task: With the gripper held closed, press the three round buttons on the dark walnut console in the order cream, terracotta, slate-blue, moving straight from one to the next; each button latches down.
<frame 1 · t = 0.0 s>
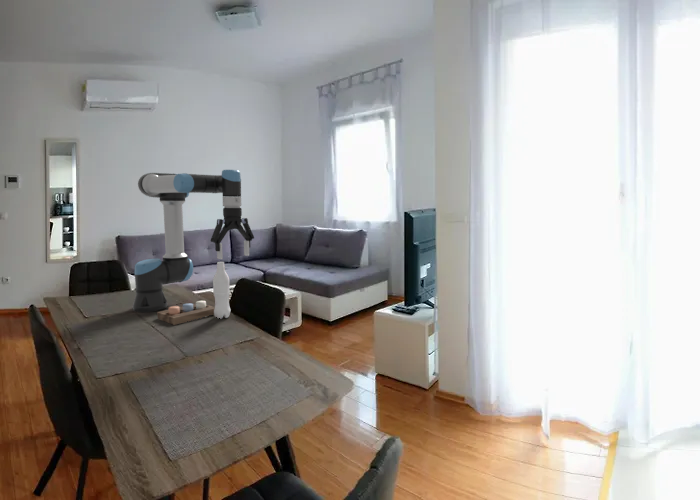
hand: (233, 257, 176), 28 cm above the table, fingers open, 13 cm apart
water bottle: (222, 317, 185), on the table
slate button: (187, 308, 186), point 3 cm above the table, slide at 0.0 cm
cream button: (201, 306, 191), point 3 cm above the table, slide at 0.0 cm
console: (188, 316, 186), on the table
terracotta button: (174, 311, 181), point 3 cm above the table, slide at 0.0 cm
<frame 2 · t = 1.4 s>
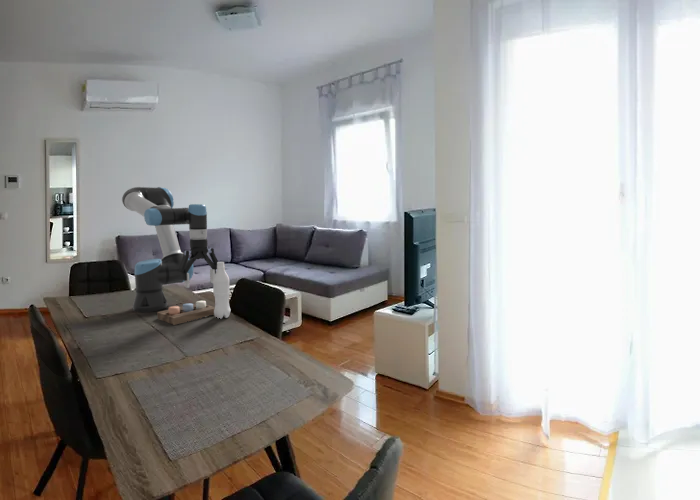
hand: (200, 285, 189), 13 cm above the table, fingers open, 12 cm apart
nothing on the table moved.
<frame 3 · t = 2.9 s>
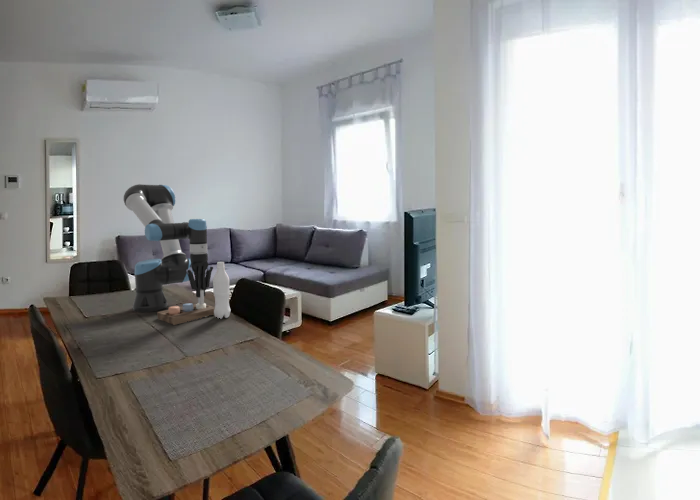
hand: (201, 303, 190), 5 cm above the table, fingers closed
cream button: (201, 308, 191), point 2 cm above the table, slide at 1.1 cm
everything else where it was.
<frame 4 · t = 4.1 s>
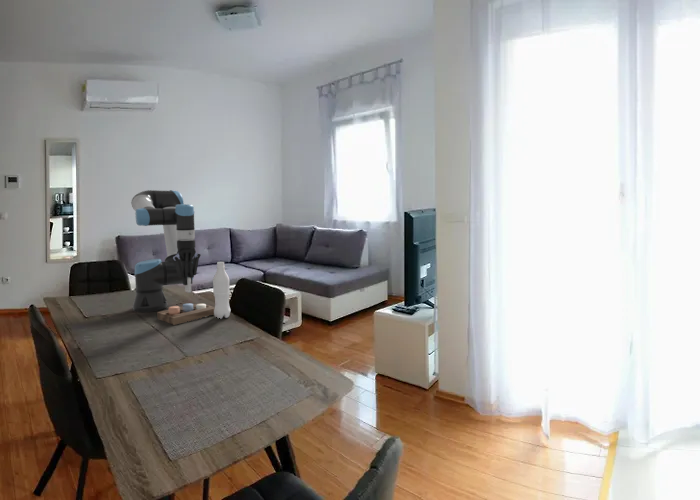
hand: (188, 291, 185), 11 cm above the table, fingers closed
nothing on the table moved.
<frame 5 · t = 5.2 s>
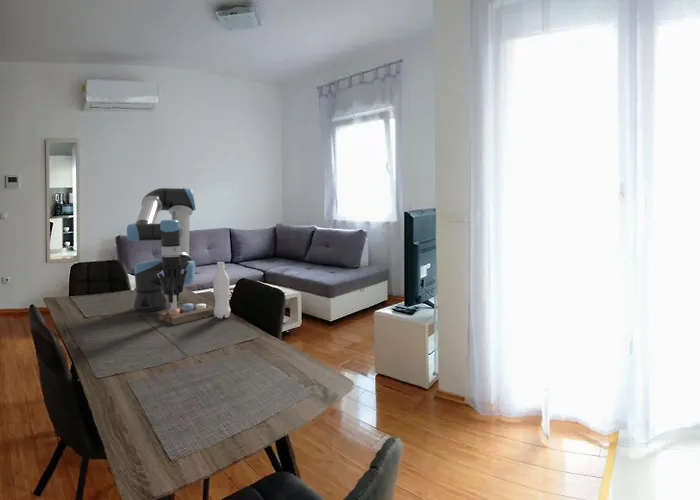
hand: (173, 309, 180), 5 cm above the table, fingers closed
terracotta button: (174, 314, 181), point 2 cm above the table, slide at 1.1 cm
everything else where it was.
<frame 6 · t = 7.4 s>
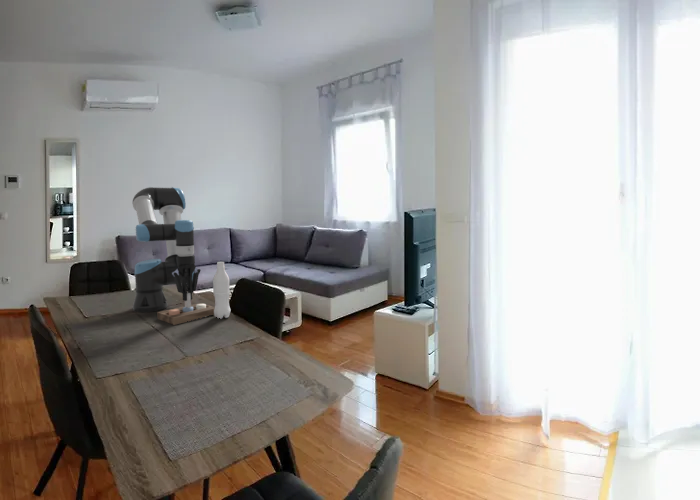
hand: (187, 307, 185), 4 cm above the table, fingers closed
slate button: (188, 312, 186), point 2 cm above the table, slide at 1.4 cm, touching gripper
terracotta button: (174, 315, 181), point 2 cm above the table, slide at 1.4 cm
everything else where it was.
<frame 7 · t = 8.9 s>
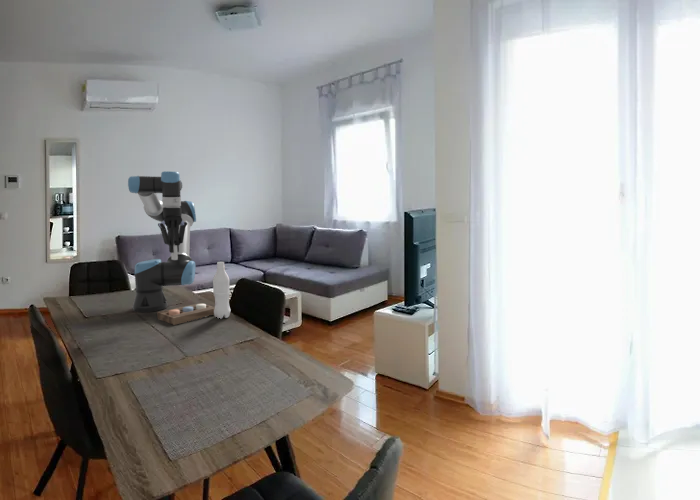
hand: (174, 259, 186), 25 cm above the table, fingers closed
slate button: (188, 312, 186), point 2 cm above the table, slide at 1.4 cm
everything else where it was.
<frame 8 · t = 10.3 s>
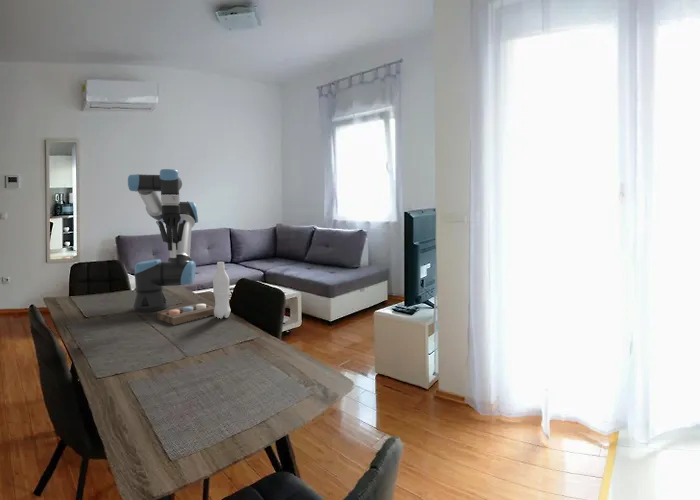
hand: (173, 257, 186), 26 cm above the table, fingers closed
nothing on the table moved.
at the end: cream button slide at 1.4 cm; terracotta button slide at 1.4 cm; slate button slide at 1.4 cm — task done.
